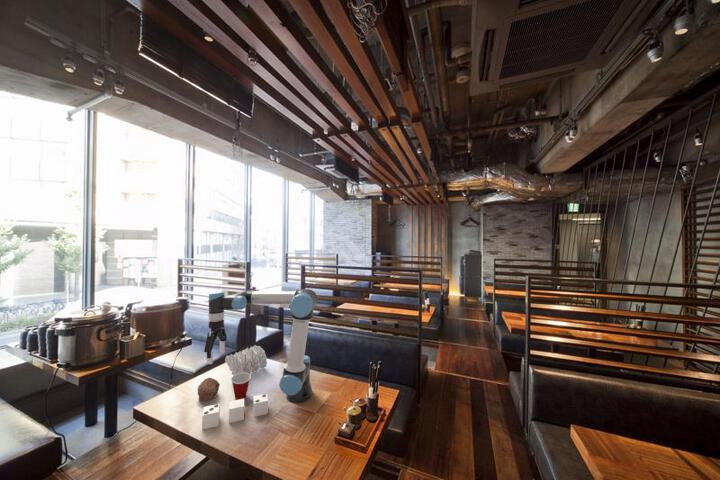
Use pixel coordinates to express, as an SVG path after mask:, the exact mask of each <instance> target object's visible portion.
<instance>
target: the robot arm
mask: <svg viewBox="0 0 720 480" xmlns="http://www.w3.org/2000/svg"><path fill="white" fill-rule="evenodd" d="M208 295H209V296H208V329H210V331H208V332H207V336H206V342H205V346H204V350H203V353H206V365H213V362H214V359H213V358H214V356H213V355H214V354H213V353H214V351H213V348H214V345H215V342H216V340H217V339H219V343H218V344H219V348H218V349H219V354H224V353H225V352H226V347H225V345H226V342H227V341H228V336H227V333H226V332H227V331H226V330H225V329H226V328H225V310H228V311H229V310H232V311H238V310H239V311H240V310H241V311H242V310H244V309H245V308H246V306H247V305H289V309H290V318H291V319H292V320H293V321H292V327H291V334H290V340H289V341H290V342H289V348H288V356H287V362H285V363H284V365H283V372H282V377H281V378H280V380H279V390H280V391H281V392H282V393H283V394H285V396H286V399H287V400H288V402H290V403H295V404H297V403H299V404H300V403H305V402H306V401H308V400H310V399H311V398H312V397H313V387H312V385H311V379H310V378H311V358H310V356H308V355H305V353H306V347H307V346H306V345H307V339H308V330H309V324H310V321H311V320H312V319H313V317H314V310H315V309H314V308H315V307H316V306H317V304H318V294H317V293H316V292H315V291H314V290H313V289H309V288H308V289H296V290H295V289H294V291H293V290H292V291H288V290H287V291H272V290H271V291H266V290H265V291H263V290H262V291H260V290H259V291H255V290H254V291H252V290H250V289H249V290H244V291H243V292H239V293H237V294H235V295H225V292H224V291H221V290H220V291H212V292H210V293H209V294H208Z"/></svg>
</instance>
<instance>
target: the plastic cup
mask: <svg viewBox="0 0 720 480" xmlns="http://www.w3.org/2000/svg"><path fill="white" fill-rule="evenodd" d="M251 378H252V375H251V374H248V373H239V374H236V375H234V376H233V375H232V377H231V379H230V381H231V384H232V387H233V394H234V398H235V400H239V399H244V400H245V399H246V397H247V393H248V389H249V384H250V381H251Z"/></svg>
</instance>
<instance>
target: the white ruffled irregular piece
mask: <svg viewBox="0 0 720 480" xmlns="http://www.w3.org/2000/svg"><path fill="white" fill-rule="evenodd" d="M267 358H268V357H267V355H266V351H265V350H264V349H263V348H262V347H261V346H260V345H256V344H255V345H253V346H250V348H249V347H246V348H245V349H242V350H240V351H238V352H237V351H236V352H235V353H234V354H232V353H230V354H229V355H226V356H225V359H224V362H225V364H227V365H228V368H229V371H230V372H231V375H232V377H233V376H234V375H236V374H239V373H248V374H250V375H251V373H253V372H254V373H257V372H258V371H260V369H261V370H263V369H264V368H267V364H268V361H267V360H268V359H267Z"/></svg>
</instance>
